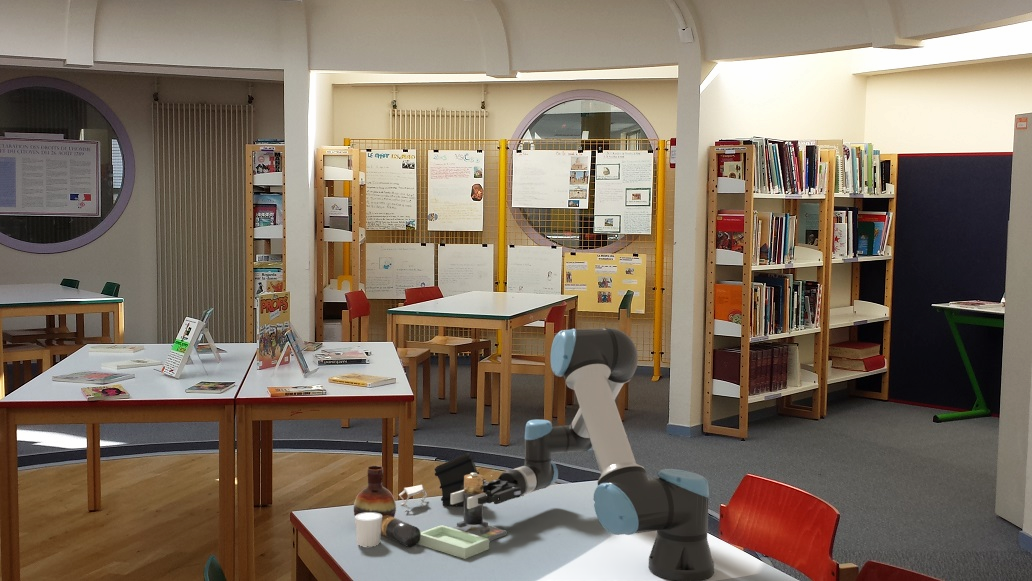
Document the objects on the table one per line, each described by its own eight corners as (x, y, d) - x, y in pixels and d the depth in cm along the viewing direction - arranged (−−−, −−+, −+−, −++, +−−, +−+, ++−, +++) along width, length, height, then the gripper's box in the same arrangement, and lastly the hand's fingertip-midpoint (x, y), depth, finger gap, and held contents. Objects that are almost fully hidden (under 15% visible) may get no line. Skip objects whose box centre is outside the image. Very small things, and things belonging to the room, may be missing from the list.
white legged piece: (399, 500, 269) (400, 483, 268) (428, 500, 269) (428, 484, 268) (393, 513, 257) (393, 495, 256) (423, 513, 257) (424, 496, 256)
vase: (358, 517, 252) (358, 461, 251) (398, 518, 251) (399, 462, 250) (349, 531, 241) (349, 472, 240) (391, 532, 240) (392, 473, 239)
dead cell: (420, 544, 232) (420, 525, 231) (404, 549, 228) (404, 529, 228) (391, 531, 241) (391, 512, 241) (375, 535, 238) (375, 516, 237)
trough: (489, 549, 229) (489, 538, 229) (464, 558, 222) (465, 548, 222) (441, 534, 239) (441, 524, 239) (416, 543, 232) (417, 533, 232)
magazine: (490, 503, 261) (468, 454, 261) (449, 520, 263) (427, 472, 263) (492, 499, 265) (471, 451, 265) (451, 516, 267) (430, 469, 267)
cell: (486, 522, 241) (487, 473, 240) (471, 526, 238) (472, 477, 237) (474, 517, 245) (475, 469, 244) (459, 521, 241) (460, 473, 241)
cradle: (506, 534, 240) (506, 527, 240) (483, 543, 233) (483, 536, 233) (471, 524, 248) (471, 517, 248) (448, 532, 241) (448, 526, 241)
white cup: (366, 550, 227) (366, 522, 227) (348, 543, 232) (349, 515, 231) (388, 543, 232) (388, 516, 232) (370, 536, 237) (370, 509, 236)
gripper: (542, 502, 249) (486, 523, 231) (490, 490, 261) (433, 508, 242) (542, 475, 249) (486, 493, 231) (491, 463, 260) (434, 480, 242)
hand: (459, 501), depth 237 cm, fingers closed on cell, 5 cm apart
